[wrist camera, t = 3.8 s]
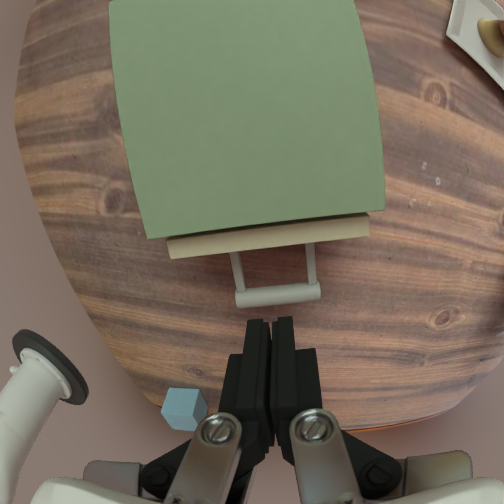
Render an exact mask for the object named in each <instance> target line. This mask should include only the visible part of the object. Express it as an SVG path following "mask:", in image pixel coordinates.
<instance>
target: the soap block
mask: <svg viewBox="0 0 504 504" xmlns="http://www.w3.org/2000/svg"><path fill="white" fill-rule="evenodd" d="M207 410H208V406H207V404H206V402H205V400H204V398H203V396H202V394H201V392H200V390H199V389H185V388H169V390H168V393H167V395H166V398H165V401H164V404H163V407H162V410H161V414H162V415H163V417H164V418H165V419H166V421H167V422H168V423H169V425H170V426H171V427H172V428H173V429H177V430H187V431H195V430H196V428H197V426H198V424H199V422H200V421H201V420H202V419H203V418H204V417H206V414H207Z"/></svg>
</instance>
